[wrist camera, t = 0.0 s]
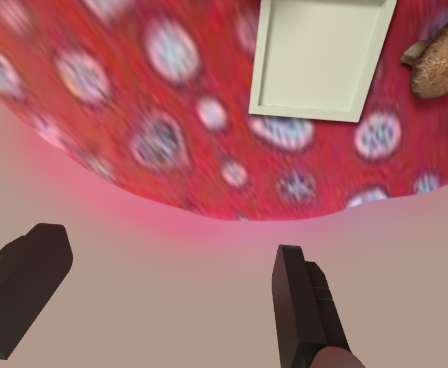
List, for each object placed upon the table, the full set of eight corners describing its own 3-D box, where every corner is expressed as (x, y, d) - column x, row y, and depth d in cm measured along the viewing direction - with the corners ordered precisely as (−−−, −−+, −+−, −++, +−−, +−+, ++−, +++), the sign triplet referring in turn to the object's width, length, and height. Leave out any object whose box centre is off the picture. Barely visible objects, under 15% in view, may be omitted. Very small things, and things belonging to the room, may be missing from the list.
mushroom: (382, 55, 30) (445, 68, 26) (432, -3, 30) (503, 0, 25) (388, 101, 36) (440, 118, 32) (429, 53, 36) (487, 63, 31)
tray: (263, -19, 30) (264, -22, 28) (393, -10, 30) (400, -12, 28) (248, 110, 37) (248, 113, 35) (353, 118, 37) (358, 122, 35)
